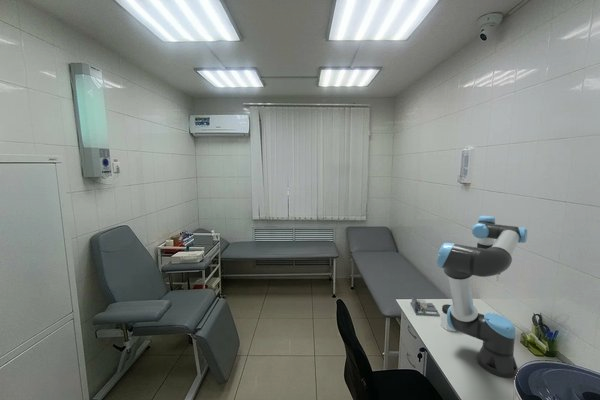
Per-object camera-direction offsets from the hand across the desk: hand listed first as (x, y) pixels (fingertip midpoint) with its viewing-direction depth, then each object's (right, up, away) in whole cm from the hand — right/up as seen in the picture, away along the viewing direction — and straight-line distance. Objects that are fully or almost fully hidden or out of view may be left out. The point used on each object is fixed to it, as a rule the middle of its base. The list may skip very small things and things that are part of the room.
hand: (483, 279), depth 152 cm
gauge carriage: (-25, -25, +21) cm, 41 cm away
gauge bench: (-23, -27, +22) cm, 42 cm away
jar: (-17, -29, +3) cm, 34 cm away
